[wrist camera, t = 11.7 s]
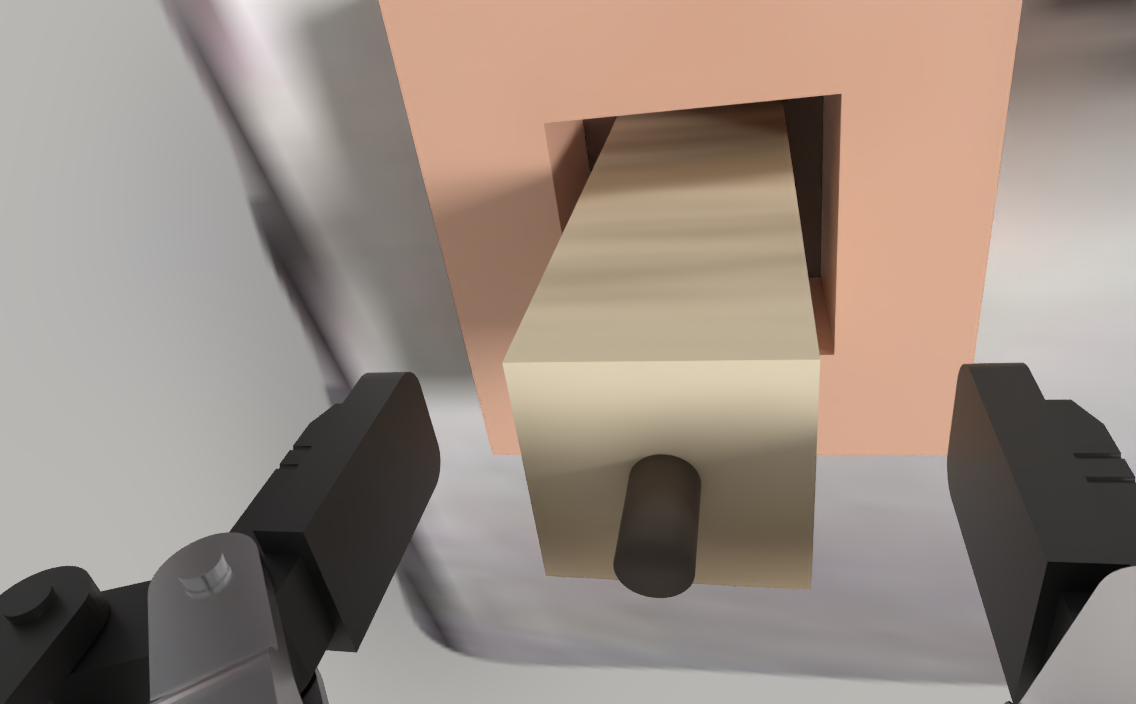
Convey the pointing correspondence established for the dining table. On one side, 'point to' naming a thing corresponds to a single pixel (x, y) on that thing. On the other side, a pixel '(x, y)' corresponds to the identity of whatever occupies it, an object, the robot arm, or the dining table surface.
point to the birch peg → (675, 363)
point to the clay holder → (714, 78)
